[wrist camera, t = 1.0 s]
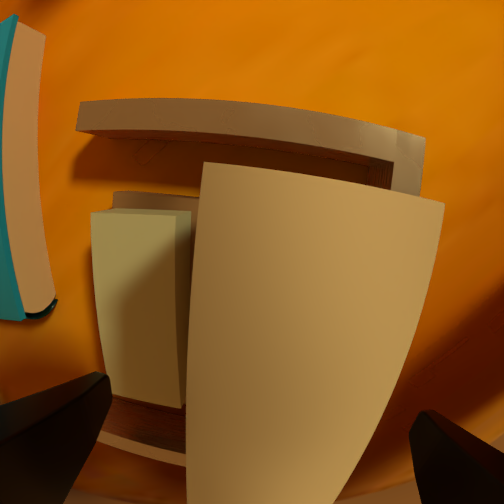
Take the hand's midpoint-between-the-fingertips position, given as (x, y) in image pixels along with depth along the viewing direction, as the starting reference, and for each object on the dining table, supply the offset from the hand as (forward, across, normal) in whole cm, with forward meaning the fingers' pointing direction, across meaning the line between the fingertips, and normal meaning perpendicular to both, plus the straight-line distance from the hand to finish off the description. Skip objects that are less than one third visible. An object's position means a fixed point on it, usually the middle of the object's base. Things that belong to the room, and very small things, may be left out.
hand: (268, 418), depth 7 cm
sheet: (+7, 0, 0) cm, 7 cm away
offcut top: (+6, +5, 0) cm, 8 cm away
